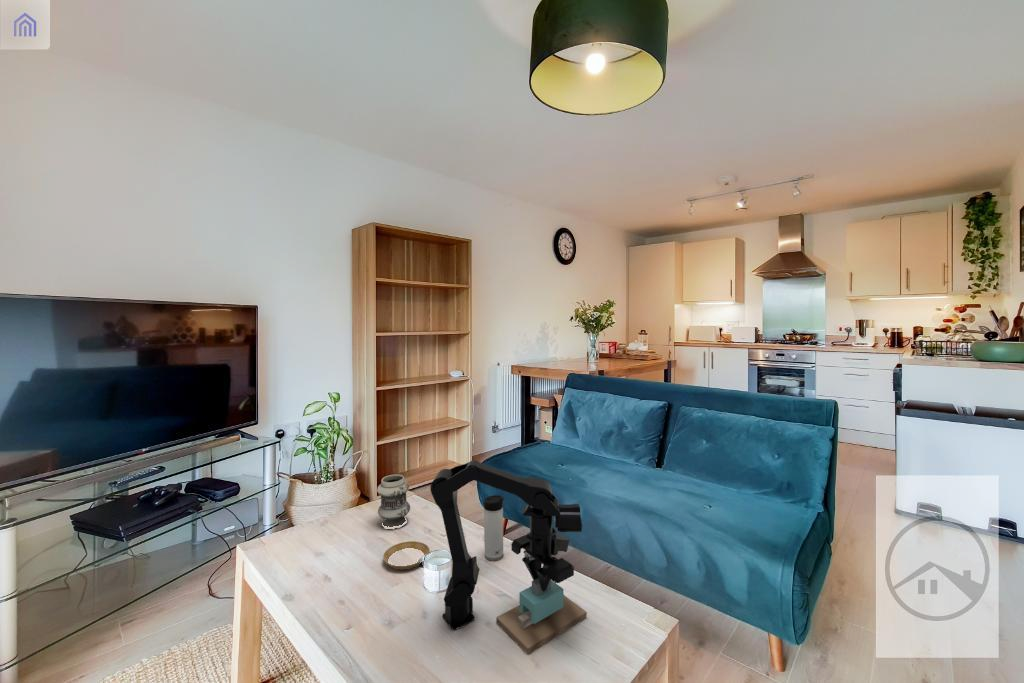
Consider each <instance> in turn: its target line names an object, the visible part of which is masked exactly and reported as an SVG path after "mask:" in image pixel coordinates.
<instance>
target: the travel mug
mask: <svg viewBox="0 0 1024 683" xmlns="http://www.w3.org/2000/svg"><path fill="white" fill-rule="evenodd" d="M504 500H505V498H504V496H501V495H499V494H498V495H497V494H495V495H494V494H493V495H490V496H487V497H486V498H485V499H484V500H483V523H484V524H483V525H484V526H483V530H484V531H483V532H484V534H483V535H484V536H483V539H484V540H483V541H484V543H483V544H484V558H485V559H486V560H488V561H490V562H496V561H499V560H502V559H503V557H504V505H503V502H504Z"/></svg>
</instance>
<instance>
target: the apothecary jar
mask: <svg viewBox="0 0 1024 683" xmlns="http://www.w3.org/2000/svg"><path fill="white" fill-rule="evenodd" d="M380 481H381V483H380V484H379V485H378V486H377V490H376V491H377V493H378V495H379V496H380V506H379V507H378V508H377V509H378V510H377V514H378V516H379V517H380V518H381V519H383V521H384V522H383V521H382V522H383V525H384V526H387V527H388V526H389V527H393V526H399V525H402V524H403V523H404V522H405V521H406V520H405V518H406V517H405V516H407V515H408V514H409V512H410V510H411V504H410V503H409V501H408V500H407V492H408V491H409V490H410V484H409V482H408V481H407V480H405V476H404V475H403V474H396V473H395V474H390V475H386V476H384V477H382V478H381V480H380ZM404 517H405V518H404ZM385 519H386V520H385Z"/></svg>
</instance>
